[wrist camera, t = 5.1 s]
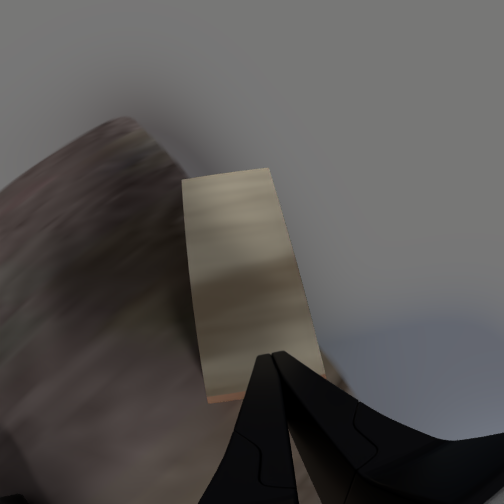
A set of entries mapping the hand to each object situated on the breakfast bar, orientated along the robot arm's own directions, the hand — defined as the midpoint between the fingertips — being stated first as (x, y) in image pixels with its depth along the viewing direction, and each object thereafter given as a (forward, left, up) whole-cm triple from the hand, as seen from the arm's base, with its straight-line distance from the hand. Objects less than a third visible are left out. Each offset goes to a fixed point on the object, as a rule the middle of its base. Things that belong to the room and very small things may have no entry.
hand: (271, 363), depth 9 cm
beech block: (-1, 0, -6) cm, 6 cm away
